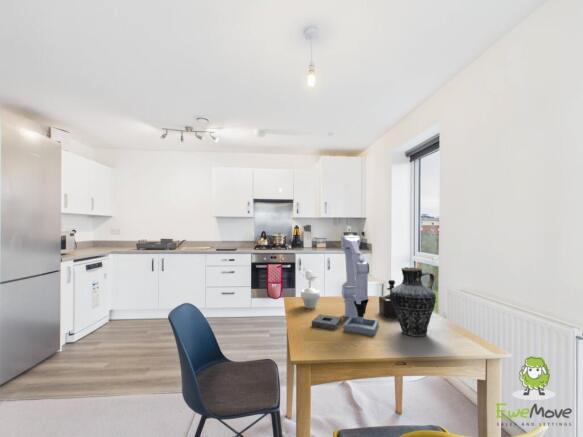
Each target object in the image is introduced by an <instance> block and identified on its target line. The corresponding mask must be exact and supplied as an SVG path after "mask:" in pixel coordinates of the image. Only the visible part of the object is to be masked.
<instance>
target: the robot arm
mask: <svg viewBox="0 0 583 437" xmlns="http://www.w3.org/2000/svg"><path fill="white" fill-rule="evenodd" d="M360 245H361V238H360V236H359V234H358V235H342V236H340V248H341V251H342V252H344V257H345V273H346V274H345V275H346V281H345V282H344V283H343V284H342V285H341V296H342V298H343V300H344V313H343V315H342V317H345V318H350V316H352V317H357V313H358V317H363V315H365V314H366V311H367V305H368V303H369V301H370V300H369V296H368V295H369V293H368V292H369V291H368V289H369V287H368V283H369V282H368V279H369V278H368V277H369V276H368V275H369V273H370V264H369V262H368V261H367V260H365V257H364V255H363V253H362V252H361V251H360ZM365 305H366V306H365Z"/></svg>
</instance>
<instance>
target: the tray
mask: <svg viewBox="0 0 583 437" xmlns="http://www.w3.org/2000/svg"><path fill="white" fill-rule="evenodd" d="M356 320H357V317H352V316H350V317H348V319H347V320H346V322H345V323H344V324H343V332H344V333H345V332H346V333H351V334H352V333H353V334H358V335H365V336H371V337H375V335H376V333H377V332H378V328H379V324H380V323H379V322H380V321H379V319H372V318H367V317H364V318H363V323H362V324H360V323H357V322H356Z"/></svg>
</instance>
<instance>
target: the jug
mask: <svg viewBox="0 0 583 437" xmlns="http://www.w3.org/2000/svg"><path fill="white" fill-rule="evenodd" d="M401 273H402V276H403V278H402V282H401V283H399V284H398V285H396V286H394V288H393V289H392V290H391V293H390V292H389V295H390V298H391V302H392V305H393V308H394V310H395V312H396V315H397V318H396V319H397V320H398V323H399V326H400V328H401V332H402V333H404V334H405V335H408V336H412V337H424V336H426V335H427V332H428V328H429V324H430V322H431V317H432V315H433V311H434V309H435V306H436V305H435V304H436V301H437V300H436V299H437V297H436V296H437V295H436V293H435V292H434V290H433V286H434V283H435V275H434V273H433V272H430V271H429V270H427V271H423V268H422V267H407V266H406V267H401ZM424 276H429V282H428V285H426V286H425V285H424V284H423V283H422V277H424Z"/></svg>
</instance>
